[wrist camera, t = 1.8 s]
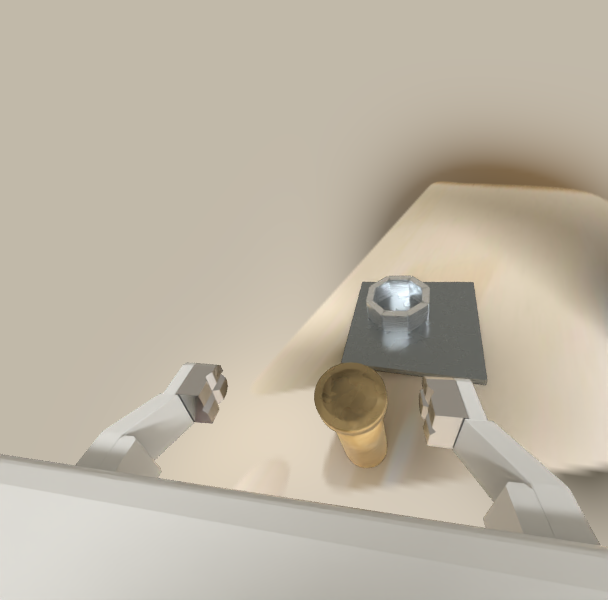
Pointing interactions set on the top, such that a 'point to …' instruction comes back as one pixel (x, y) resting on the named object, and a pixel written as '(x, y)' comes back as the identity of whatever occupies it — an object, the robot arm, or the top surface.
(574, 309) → the top surface
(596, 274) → the top surface
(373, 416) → the brass fitting
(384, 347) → the flange base
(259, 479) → the top surface
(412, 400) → the top surface
